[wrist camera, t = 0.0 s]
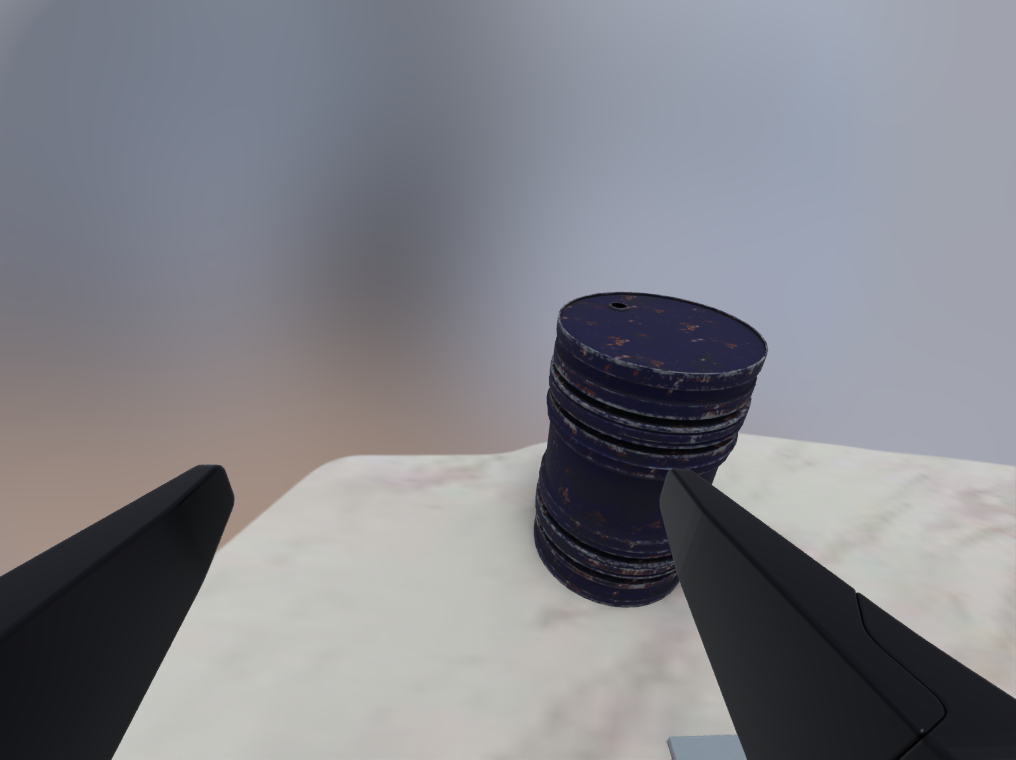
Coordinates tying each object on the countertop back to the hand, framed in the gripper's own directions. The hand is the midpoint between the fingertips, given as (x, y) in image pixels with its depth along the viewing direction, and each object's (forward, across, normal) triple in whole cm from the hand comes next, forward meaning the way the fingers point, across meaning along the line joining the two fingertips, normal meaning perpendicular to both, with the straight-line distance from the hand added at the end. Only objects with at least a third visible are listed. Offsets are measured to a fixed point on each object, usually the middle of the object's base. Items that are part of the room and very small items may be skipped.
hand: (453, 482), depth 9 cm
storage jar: (+13, -9, +17) cm, 23 cm away
